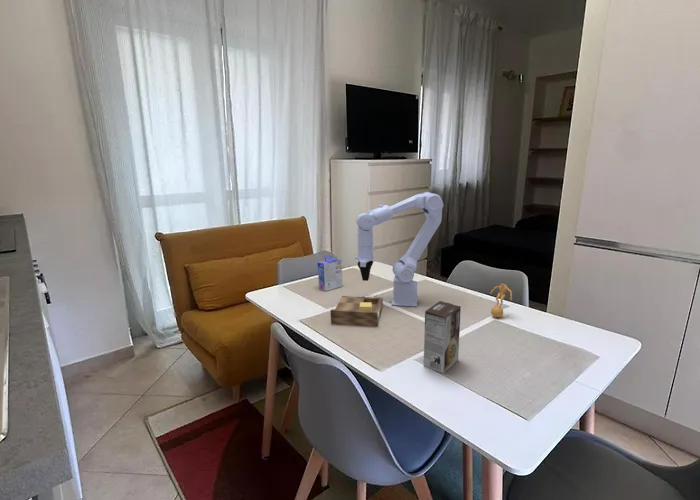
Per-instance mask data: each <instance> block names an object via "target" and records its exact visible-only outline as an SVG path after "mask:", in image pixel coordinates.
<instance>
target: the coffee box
mask: <svg viewBox="0 0 700 500" xmlns="http://www.w3.org/2000/svg"><path fill="white" fill-rule="evenodd" d="M461 311H462V309H461V306H460V305H456V304H453V303H449V302H445V301H441V300H440V301H437V303H435V304H434V305H432V306H431V307H429V308H428V309H426V310H425V311H424V339H423V341H424V344H423V345H424V346H423V367H425V368H427V369H431V370H433V371H435V372H439V373H442V374H445V373H447V371H448V370H449V369H450V368H451V367H452V366H453V365H454V364H455V363H456V362H457V361H458V360H459V353H460V352H459V350H460V348H459V347H460V331H461V330H460V328H461V326H460V325H461Z"/></svg>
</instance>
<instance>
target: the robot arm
mask: <svg viewBox="0 0 700 500" xmlns="http://www.w3.org/2000/svg"><path fill="white" fill-rule="evenodd" d="M378 206H379V207H377V208H374V209H372V210H370V209H369V210H367V212H362V213H360V214H359V215H357V218H356V220H355V221H356V225H357V226H358V227H357V255H355V256H354V260H357V261H358V262H357V267H358V269H359V271H360V276H361V278H362V279H361V280H362V281H364V282H365V281H367V282H368V281H369V279H370V274H371V269H372V267H373V264H374V261H373V260H374V234H373V231H374V230H373V228H374V227H375V226H378V225H380V224H384V223H385V222H388V221H390V220H392V219H393V217H394V215H396V214H399V213H402V212H405V211H407V210H410V209H412V208H416V209H417V208H418V209H422V210H423V213H424V216H425V221H424V223H423V225H422V226H421V228H420V229H419V231H418V232H417V234H416V236H415V237H414V239H413V241H412V243H411V244H410V246H409V248H408V249H407V250H406V252H405V254H403V256H401V257H400V258H399V260H398V261H397V262H395V263H394V264H393V266H392V272H393V275H394V277H393V282H392V283H393V292H392V294H393V295H392V296H393V297H392V299H391V306H399V307H400V306H401V307H403V306H404V307H417V306H418V305H417V304H418V299H419V298H418V297H419V295H418V281H416V280H413V279H414V277H415V272H416V270H417V266H418V264H417V263H418V261H419V260H420V258H421V256H422V254H423V253H424V251H425V249H426V247H427V246H428V245H429V243H430V241H431V240H432V237H433V236H434V234H435V233H436V231H437V229H438V228H439V226H440V225H441V223H442V219H443V208H444V202H443V199H442V197H441V196H440V195H439V194H437V193H432V192H430V191H424V192H422V193H418V194H415V195H413V196H410V197H408V198H406V199H404V200H401V201H399V202H397V203H396V204H395V203H394V204H393V205H387V204H384V205H383V204H379V205H378Z"/></svg>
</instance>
